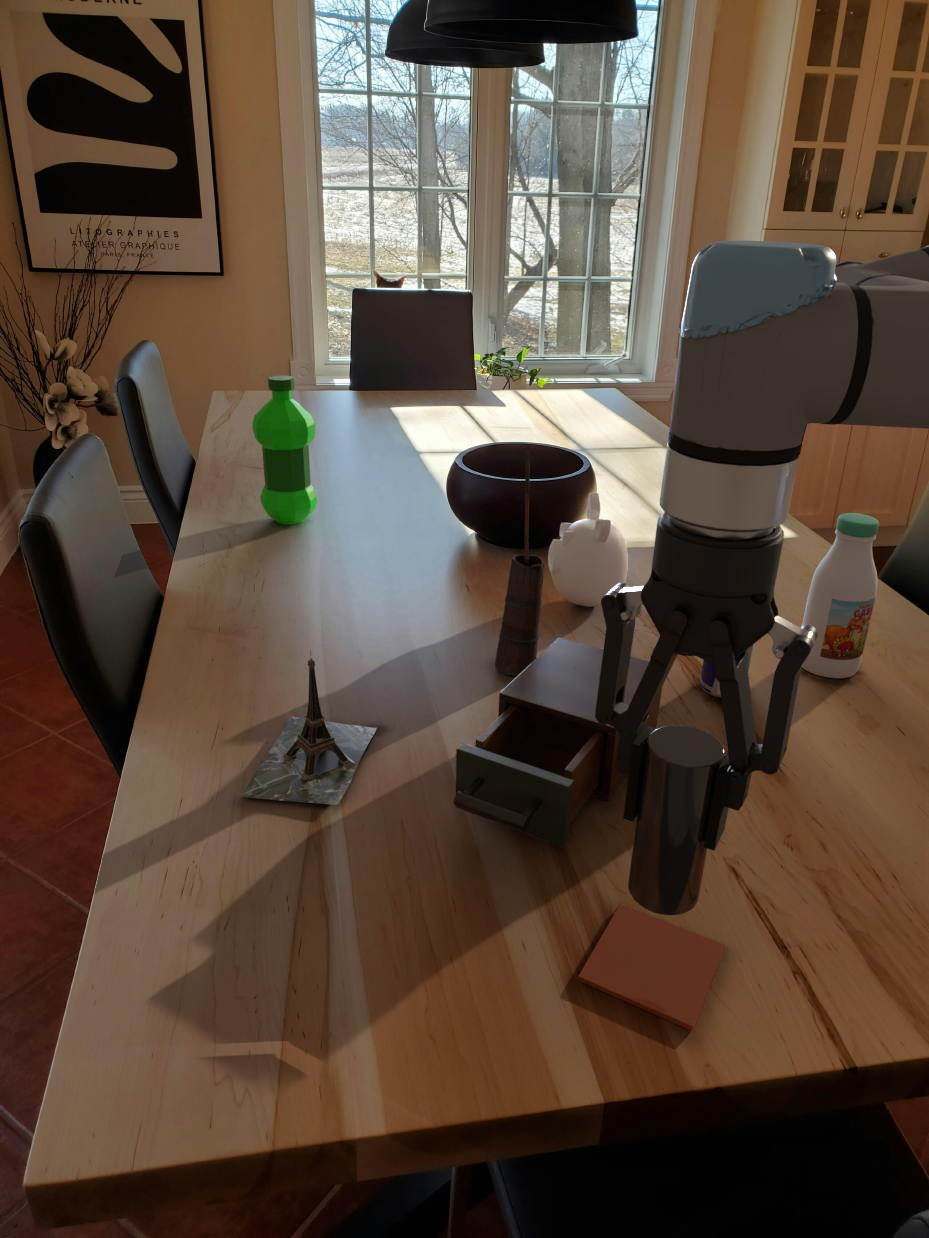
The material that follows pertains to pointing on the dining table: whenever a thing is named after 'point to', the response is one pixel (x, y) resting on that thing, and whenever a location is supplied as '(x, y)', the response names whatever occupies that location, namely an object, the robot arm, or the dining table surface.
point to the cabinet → (575, 695)
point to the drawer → (530, 772)
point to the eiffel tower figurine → (310, 757)
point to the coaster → (653, 965)
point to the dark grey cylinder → (673, 818)
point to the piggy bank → (588, 557)
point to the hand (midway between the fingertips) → (673, 823)
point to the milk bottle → (843, 599)
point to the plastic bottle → (285, 454)
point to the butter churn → (521, 603)
